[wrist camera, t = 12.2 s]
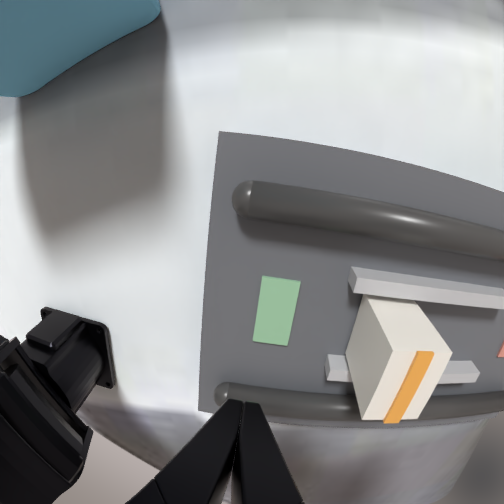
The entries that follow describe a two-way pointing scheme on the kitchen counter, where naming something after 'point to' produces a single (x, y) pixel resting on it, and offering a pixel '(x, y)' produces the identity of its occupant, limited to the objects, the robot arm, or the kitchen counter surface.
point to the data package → (60, 36)
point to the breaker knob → (394, 358)
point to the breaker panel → (344, 278)
